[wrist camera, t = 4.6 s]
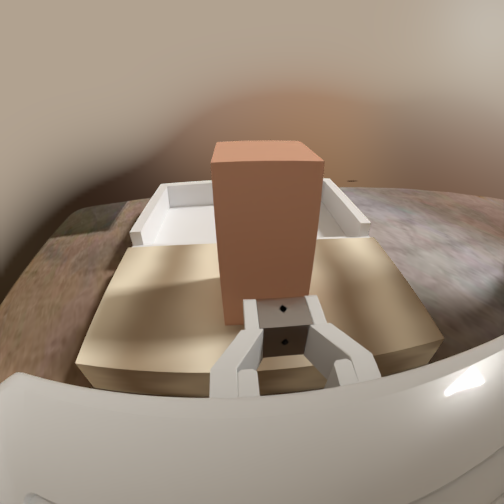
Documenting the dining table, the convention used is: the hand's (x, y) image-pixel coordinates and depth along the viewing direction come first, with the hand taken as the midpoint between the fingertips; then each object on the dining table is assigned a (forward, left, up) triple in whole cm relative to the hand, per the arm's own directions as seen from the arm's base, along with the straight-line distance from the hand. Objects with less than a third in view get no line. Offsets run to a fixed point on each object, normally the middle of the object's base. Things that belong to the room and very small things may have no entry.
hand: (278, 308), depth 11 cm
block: (0, -6, -5) cm, 8 cm away
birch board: (0, -7, -8) cm, 11 cm away
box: (0, -21, -8) cm, 23 cm away
